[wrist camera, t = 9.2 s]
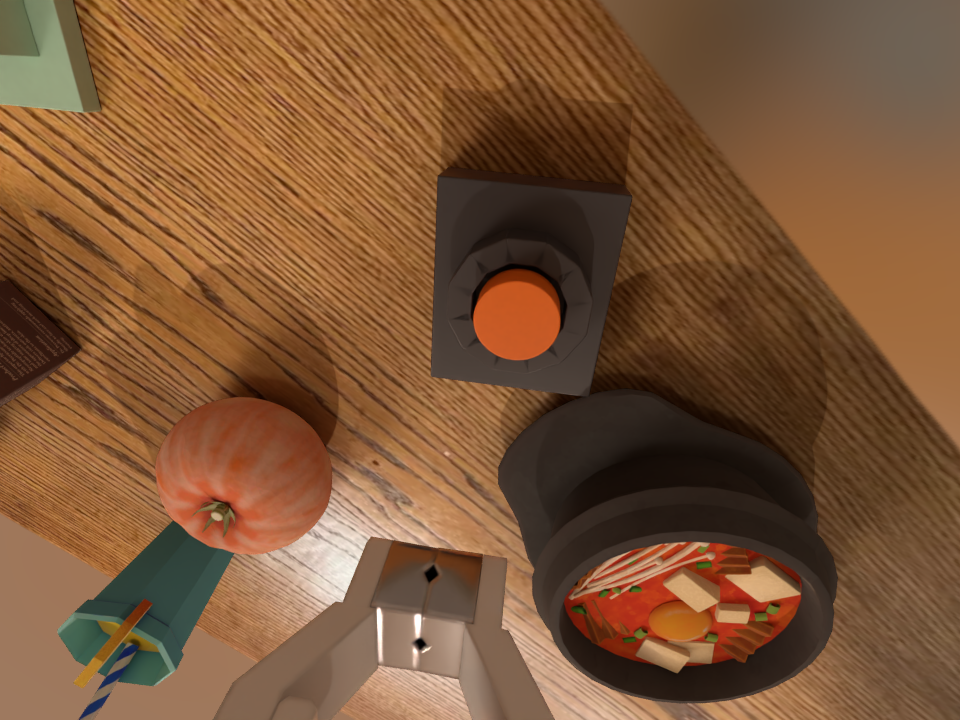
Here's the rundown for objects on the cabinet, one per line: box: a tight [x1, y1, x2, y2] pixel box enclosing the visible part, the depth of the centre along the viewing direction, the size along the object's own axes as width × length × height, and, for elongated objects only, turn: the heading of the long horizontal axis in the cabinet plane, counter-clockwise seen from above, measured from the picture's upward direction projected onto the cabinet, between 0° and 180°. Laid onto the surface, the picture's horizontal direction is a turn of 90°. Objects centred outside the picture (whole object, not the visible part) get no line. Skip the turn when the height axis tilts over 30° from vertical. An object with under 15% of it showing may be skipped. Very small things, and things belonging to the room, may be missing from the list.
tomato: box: [156, 397, 332, 554], centre depth 33 cm, size 11×11×8 cm
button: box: [473, 269, 561, 360], centre depth 24 cm, size 4×4×2 cm
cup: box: [58, 520, 234, 720], centre depth 36 cm, size 14×8×15 cm, turn 158°
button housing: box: [431, 167, 632, 397], centre depth 26 cm, size 11×9×4 cm
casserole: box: [498, 388, 838, 703], centre depth 32 cm, size 25×19×8 cm
